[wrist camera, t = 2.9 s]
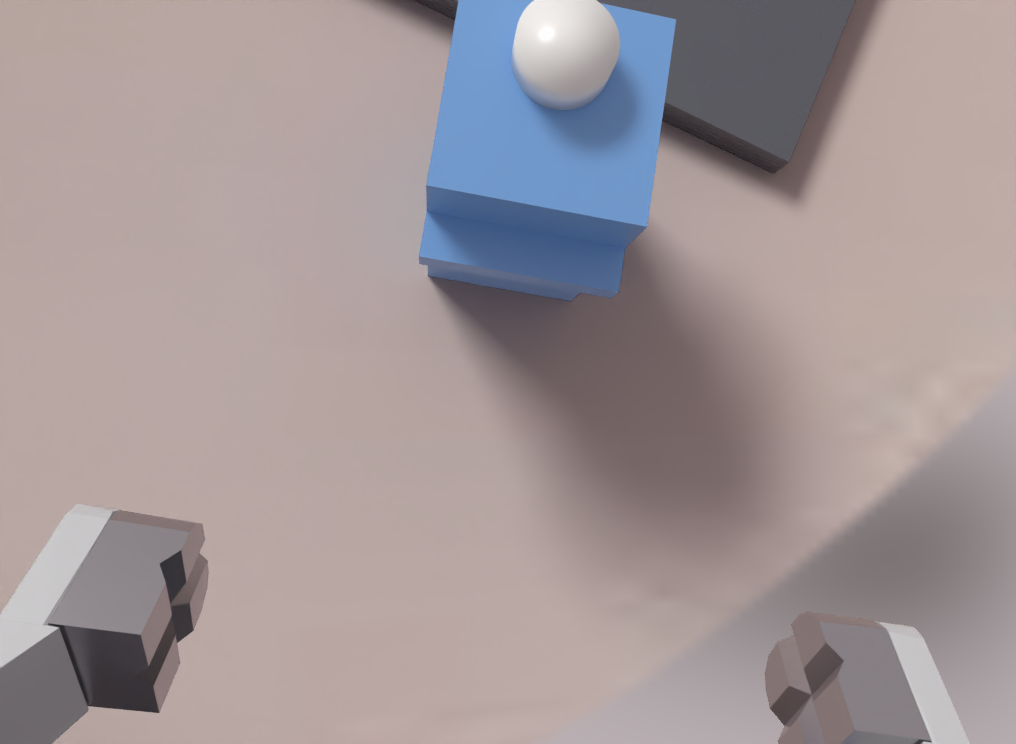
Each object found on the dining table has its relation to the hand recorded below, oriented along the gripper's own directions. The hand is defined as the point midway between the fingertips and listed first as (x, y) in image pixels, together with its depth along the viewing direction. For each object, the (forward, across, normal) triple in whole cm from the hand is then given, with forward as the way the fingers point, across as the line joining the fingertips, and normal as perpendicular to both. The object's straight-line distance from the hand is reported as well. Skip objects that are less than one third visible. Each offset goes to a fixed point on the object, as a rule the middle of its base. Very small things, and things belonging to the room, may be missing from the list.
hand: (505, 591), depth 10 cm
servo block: (+14, 0, +2) cm, 15 cm away
